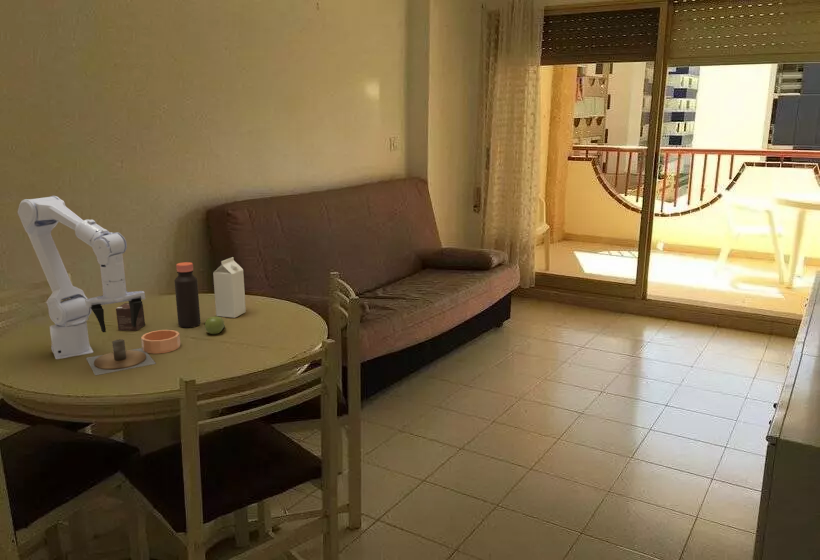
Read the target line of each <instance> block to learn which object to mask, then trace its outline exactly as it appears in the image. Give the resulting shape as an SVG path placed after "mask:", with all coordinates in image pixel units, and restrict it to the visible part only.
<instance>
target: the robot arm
mask: <svg viewBox="0 0 820 560" xmlns="http://www.w3.org/2000/svg"><path fill="white" fill-rule="evenodd" d="M17 215H18V217H19V219H20V222H21V224H22V226H23V229H24V231H25V233H27V236H28V238H29V240H30V243H31V246H32V248H33V250H34V253H35V256H36V257H37V259H38V261H39V264H40V267H41V269H42V271H43V273H44V276H45V279H46V280H47V283H48V285H49V287H50V291H51V292H52V293H51V294H50V295H49V297H48V298H47V300H46V301H45V302H46V303H45V304H46V305H47V309H48V316H49V318H50V320H51V321H52V323H54V324H52V325H49V334H50V341H51V352H52V353H53V356H54V358H55V360H60V359H67V358H71V357H76V356H77V357H78V356H83V355H89V354H93V353H94V350H93V348H92V347H91V345H90V339H89V333H88V324H87V323H88V320H89V317H90V315H91V314H92V312H93V313H94V316H95V318H96V320H97V321H98V324H99V326H100V330H101V332H102V333H106V332H107V330H106V329H107V327H106V324H105V323H106V322H105V314H104V313H105V311H104V310H105V309H103V305H104V306H105V305H110V304H115V303H124V302H125V303H126V302H128V303H129V306H130V312H131V324H132V326H133V327H136V322H137V317H138V313H139V310H140V308H141V306H142V304H143V301H142V300H146V293H145V291H144V290H139V291H138V290H137V291H127V283H126V281H127V280H126V272H125V263H124V255H123V254H125V252H126V251H127V248H128V244H127V240H126V238H125V236H123V235H122V234H121V232H118V231H117V232H112V231H111V232H110V231H109V230H108V229H106V228H104V227H102V226H101V225H100V224H97V222H96V221H95V220H94V219H82V218H81V217H80V216H78V215H77V214H76V213H75V212H74V211H72V210H71V209H70V208H69V207H67V206H66V203H65V201H64V200H63V199H61V198H60V197H59V196H56V195H51V196H45V197H40V198H39V197H37V198H30V199H29V198H28V199H27V198H25V199H22V200H21V201H20V203H19V205H18V208H17ZM58 223H60V224H62V225H63V226H66V227H68V228H70V229H71V230H73V231H74V234H75V237H76V238H77V239H78V240H80V241H82V242H83V243H85V244H86V245H87V246H89V247H91V248H92V251H93V253H94V256H96V260H97V263H98V265H99V268H100V277H101V285H102V286H101V287H102V295H98V296H95V297H87V296H86V294H85V292H84V290H83V289H81V288H78V287H77V286H74V285H73V283H72V281H71V277H70V276H69V274H68V272H67V269H66V266H65V265H64V262H63V259H62V257H61V255H60V251H59V250H58V248H57V246H56V243H55V241H54V238H53V236H52V231H53V229H54V228H56V226H57V225H59V224H58Z"/></svg>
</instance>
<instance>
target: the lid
mask: <svg viewBox="0 0 820 560" xmlns="http://www.w3.org/2000/svg"><path fill="white" fill-rule="evenodd" d="M111 343H112V350H113V352H109V353H105V354H101V355H102V356H100V355H99V356H100V357H98V358H97V359H95V361H94V366H95V367H97V368H100V369H106V370H115V369H123V368H128V367H132V366H135V365H138V364H140V363H142V362H144V361H145V360H146V354H145V353H143V352H140V351H133V349H130V350H129V349H127V350H126V344H125V339H114V340H113V341H111Z"/></svg>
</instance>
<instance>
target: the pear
mask: <svg viewBox="0 0 820 560" xmlns="http://www.w3.org/2000/svg"><path fill="white" fill-rule="evenodd" d="M204 323H205V324H204V328H205V329H204V330H205V331H206V333H208V334H210V335H217V334H219V333H221V332H222V331H223V329H224V328H226V325H225V320H224V318H223V317H222V316H210V317H208V318H207V319H206V320H205V322H204Z"/></svg>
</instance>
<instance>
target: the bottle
mask: <svg viewBox="0 0 820 560" xmlns="http://www.w3.org/2000/svg"><path fill="white" fill-rule="evenodd" d="M175 266H176V273H177V276H176V278H175V279H174V289H175V290H174V291H175V300H176V302H175V303H176V304H175V305H176V313H177V324H178V327H179V328H183V329H189V328H190V327H191V328H196V327H198V326H200V325H201V312H200V311H201V310H200V298H199V296H200V295H199V286H198V278H197V277H196V276H195V275H194V274H193V273H194V264H193V262H189V261H186V262H185V261H184V262H178V263H176V265H175ZM191 328H190V329H191Z"/></svg>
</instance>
